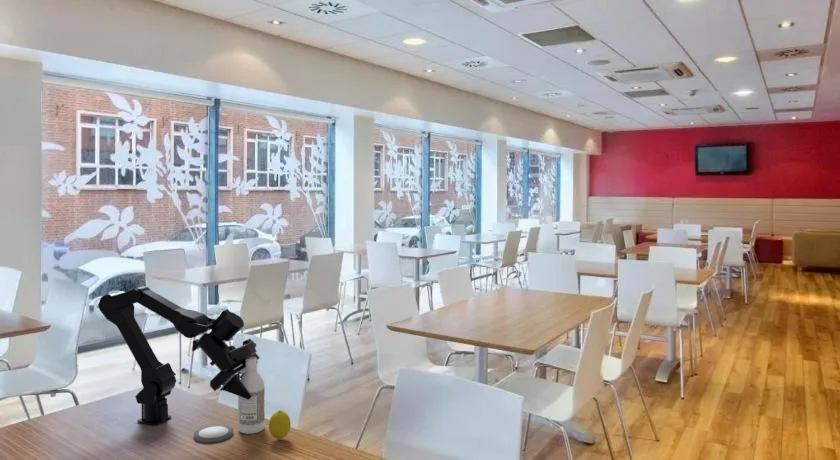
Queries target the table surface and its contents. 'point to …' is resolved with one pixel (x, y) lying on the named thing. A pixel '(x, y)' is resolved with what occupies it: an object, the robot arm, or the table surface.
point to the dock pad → (213, 433)
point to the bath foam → (252, 400)
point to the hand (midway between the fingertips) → (256, 393)
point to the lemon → (279, 425)
